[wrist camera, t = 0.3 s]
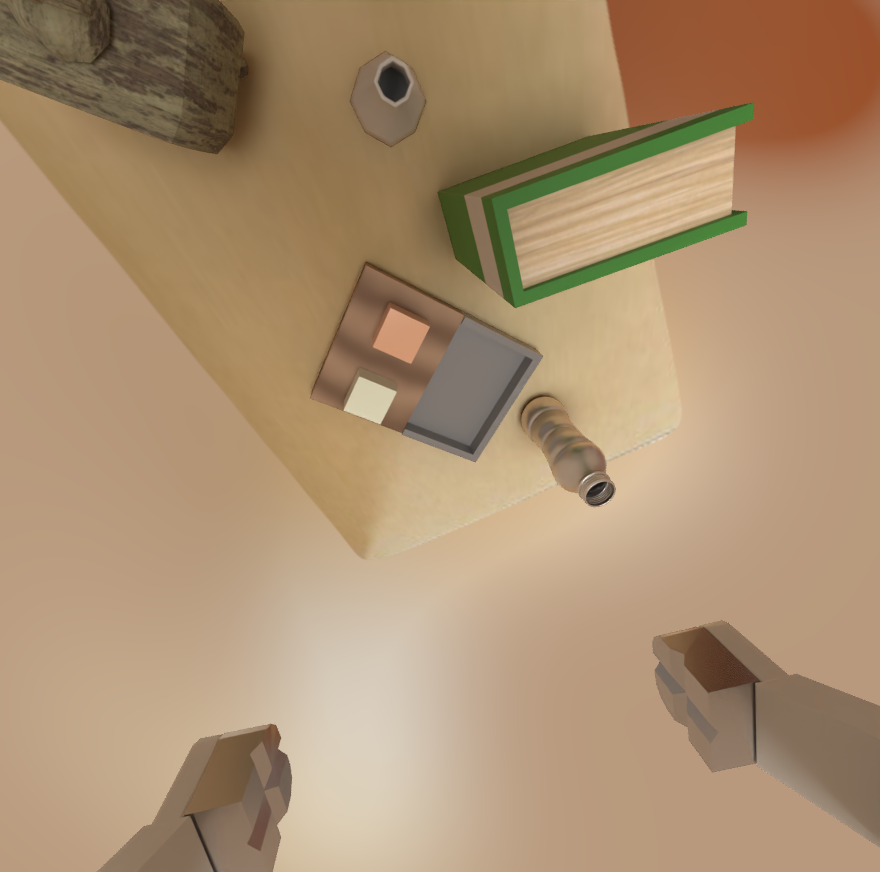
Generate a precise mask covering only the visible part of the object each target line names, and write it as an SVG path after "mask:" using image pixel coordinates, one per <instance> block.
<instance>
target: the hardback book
mask: <svg viewBox="0 0 880 872" xmlns="http://www.w3.org/2000/svg"><path fill="white" fill-rule="evenodd" d="M753 112H754V103H749V104H744V105H739V106H734V107H729V108H724V109H719V110H715V111H710V112H705V113H700V114H695V115H690V116H686V117H681V118H676V119H671V120H666V121H661V122H657V123H651V124H646V125H642V126H637V127H632V128H627V129H622V130H617V131H612V132H608V133H603V134H598V135H593V136H588V137H585V138H583V139H580V140H577V141H574V142H572V143H569V144H566V145H564V146H561V147H558V148H555V149H553V150H550V151H547V152H545V153H542V154H539V155H536V156H534V157H531V158H528V159H526V160H523V161H520V162H518V163H515V164H512V165H509V166H507V167H504V168H501V169H499V170H496V171H493V172H490V173H488V174H485V175H482V176H480V177H477V178H474V179H471V180H469V181H466V182H463V183H461V184H458V185H455V186H452V187H450V188H447V189H444V190H442V191H439V192H438V195H439V199H440V203H441V206H442V210H443V214H444V217H445V221H446V224H447V228H448V232H449V235H450V239H451V243H452V246H453V250H454V254H455V257H456V259H457V260H458V261H459V262H460V263H461V264H463V265H464V266H465V267H466V268H467V269H469V270H470V271H471V272H472V273H473V274H475V275H476V276H477V277H478V278H480V279H481V280H482V281H483V282H484V283H486V284H487V285H488V286H489V287H490V288H492V289H493V290H494V291H495V292H496V293H498V294H499V295H500V296H501V297H503V298H504V299H505V300H506V301H507V302H509V303H510V304H511V305H512V306H513V307H515V308H517V307H520V306H522V305H525V304H528V303H531V302H534V301H536V300H539V299H542V298H545V297H548V296H550V295H553V294H556V293H559V292H561V291H564V290H567V289H570V288H573V287H575V286H578V285H581V284H584V283H586V282H589V281H592V280H595V279H598V278H600V277H603V276H606V275H609V274H612V273H614V272H617V271H620V270H623V269H625V268H628V267H631V266H634V265H637V264H639V263H642V262H645V261H648V260H651V259H653V258H656V257H659V256H662V255H664V254H667V253H670V252H673V251H675V250H678V249H681V248H684V247H687V246H689V245H692V244H695V243H697V242H700V241H703V240H706V239H709V238H712V237H715V236H717V235H720V234H723V233H725V232H728V231H731V230H734V229H737V228H739V227H742V226H745V225H746V222H747V211H735V210H734V211H733V210H732V190H733V169H734V148H735V127H736V126H737V125H739V124H742V123H745V122H748V121H750V120H753V114H754V113H753Z"/></svg>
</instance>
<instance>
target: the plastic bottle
mask: <svg viewBox="0 0 880 872" xmlns="http://www.w3.org/2000/svg"><path fill="white" fill-rule="evenodd" d="M521 423H522V426H523V430H524V432H525V434H526V435H527V436H528V437H529V438H530V439H531V440H532V441H533V442H535V443H536V444H537V445H538V447H539V448H540V449H541V450H542V452H543V453H544V455H545V457H546V459H547V461H548V463H549V466H550V468H551V471H552V474H553V476H554V478H555V480H556V482H557V483H558V484H559V485H560V486H561V487H562V488H564V489H565V490H567V491H570V492H574V493H578V494H579V496H580V497H581V498H582V499H583V500H584V501H585V503H586V504H588V505H589V506H591V507H600V506H602V505H605V504H606V503H608V502H609V501H610V500H611V499H612V498H613V496H614V494H615V490H616V488H615V485H614V483H613V482H612V481H611V480H610V478H609V476H608V475H607V474H606V460H605V456H604V454H603V452H602V451H601V450H600V448H598V447H597V446H596V445H595V444H594V443H592V442H591V441H590V440H589V439H587V438H586V437H585V436H583V435H582V434H581V433H580V432H579V431H578V430H577V429H576V428H575V426H574V425H573V423H572V422H571V420H570V418H569V416H568V414H567V412H566V410H565V408H564V406H563V405H562V404H561V403H560V402H559V401H557V400H555V399H554V398H552V397H547V396H545V397H539V398H536V399H534V400H532V401H531V402H530V403H529V404H528V405H527V406H526V407H525V409H524V411H523V413H522V417H521Z"/></svg>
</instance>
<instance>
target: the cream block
mask: <svg viewBox="0 0 880 872" xmlns="http://www.w3.org/2000/svg"><path fill="white" fill-rule="evenodd" d="M396 393H397V389H396V382H393V381H391V380H389V379H386V378H384V377H381V376H379V375H377V374H374V373H372V372H370V371H367V370H365V369H362V368H360V367H359V369H358V371H357V374H356V376H355V378H354V380H353V382H352V384H351V387H350V389H349V391H348V393H347V395H346V398H345V400H344V410H343V411H346V412H349V413H351V414H354V415H357V416H359V417H362V418H365V419H367V420H370V421H373V422H375V423H378V424H381V422H382V420H383V418H384V416H385V414H386V413H387V411H388V409H389V407H390V405H391V403H392V401H393V399H394V397H395V395H396Z"/></svg>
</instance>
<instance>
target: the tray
mask: <svg viewBox="0 0 880 872" xmlns="http://www.w3.org/2000/svg"><path fill="white" fill-rule="evenodd" d="M462 313H463V314H464V315H465V316H464V318H463V320H462V322H461V324H460V325H459V327H458V329H457V331H456V333H455V335H454V337H453V338H452V340H451V342H450V344H449V346H448V348H447V350H446V352H445V353H444V355H443V357H442V359H441V361H440V363H439V365H438V366H437V368H436V370H435V372H434V374H433V376H432V378H431V379H430V381H429V383H428V385H427V387H426V389H425V391H424V393H423V394H422V396H421V398H420V400H419V402H418V404H417V406H416V407H415V409H414V411H413V413H412V415H411V417H410V419H409V420H408V422H407V424H406V426H405V428H404V430H403V432H402V435H404V436H407V437H409V438H412V439H415V440H417V441H420V442H423V443H425V444H428V445H431V446H433V447H436V448H439V449H441V450H444V451H447V452H449V453H452V454H455V455H457V456H460V457H463V458H465V459H468V460H471V461H473V462H476V461H477V459H478V458H479V456H480V455H481V453H482V451H483V450H484V448H485V447H486V445H487V444H488V442H489V440H490V439H491V437H492V436H493V434H494V433H495V431H496V430H497V428H498V426H499V425H500V423H501V422H502V420H503V419H504V417H505V415H506V414H507V412H508V411H509V409H510V408H511V406H512V404H513V403H514V401H515V400H516V398H517V397H518V395H519V393H520V392H521V390H522V389H523V387H524V386H525V384H526V383H527V381H528V379H529V378H530V376H531V375H532V373H533V372H534V370H535V368H536V367H537V365H538V364H539V362H540V361H541V359H542V357H543V356H542V355H541V354H540V353H539V352H538V351H537V350H536V349H535V348H533V347H531V346H529V345H527V344H525V343H523V342H521V341H519V340H517V339H515V338H513V337H511V336H509V335H507V334H505V333H504V332H502V331H500V330H498V329H496V328H494V327H492V326H490V325H488V324H486V323H484V322H482V321H480V320H478V319H476V318H474V317H472V316H470V315H468V314H466V313H465V312H463V311H462Z"/></svg>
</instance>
